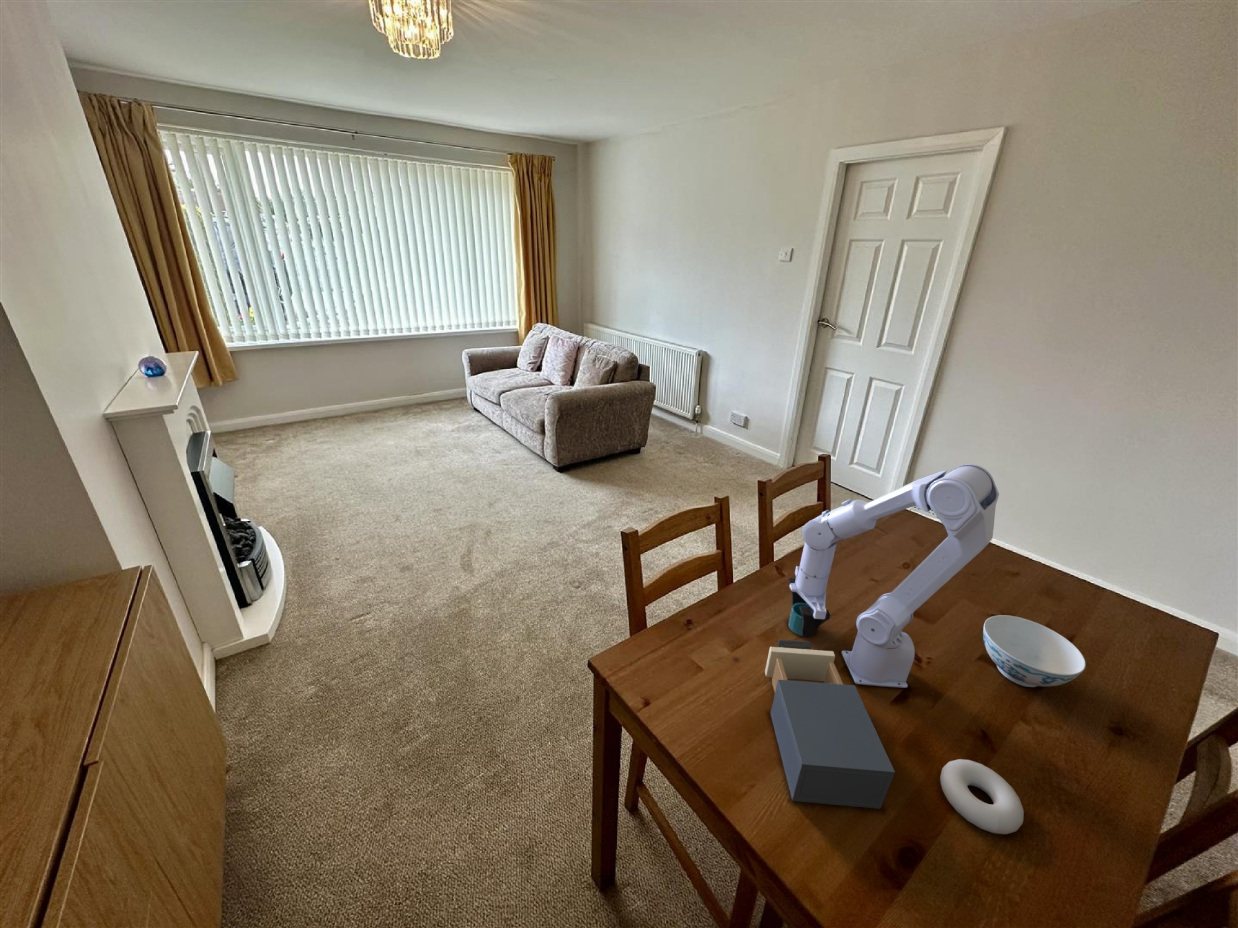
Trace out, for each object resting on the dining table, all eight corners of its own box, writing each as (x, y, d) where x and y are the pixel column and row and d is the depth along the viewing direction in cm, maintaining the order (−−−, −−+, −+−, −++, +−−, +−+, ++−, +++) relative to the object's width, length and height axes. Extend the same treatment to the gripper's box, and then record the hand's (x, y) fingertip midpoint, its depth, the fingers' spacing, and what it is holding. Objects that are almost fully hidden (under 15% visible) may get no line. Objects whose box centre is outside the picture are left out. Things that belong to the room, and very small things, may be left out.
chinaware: (1090, 704, 87) (1109, 673, 84) (1013, 707, 86) (1029, 676, 83) (1021, 643, 100) (1035, 614, 97) (953, 645, 99) (965, 615, 96)
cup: (810, 619, 105) (814, 603, 103) (817, 637, 100) (821, 620, 99) (785, 618, 106) (789, 601, 104) (791, 635, 101) (795, 618, 99)
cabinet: (770, 713, 83) (777, 679, 80) (844, 719, 83) (855, 685, 79) (792, 800, 70) (802, 764, 67) (880, 808, 69) (895, 772, 66)
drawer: (760, 654, 94) (765, 630, 92) (819, 659, 94) (825, 634, 91) (781, 737, 78) (788, 710, 76) (853, 743, 78) (862, 716, 75)
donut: (981, 766, 76) (922, 770, 75) (989, 752, 74) (928, 755, 73) (1037, 837, 66) (970, 842, 66) (1047, 822, 65) (979, 826, 64)
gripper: (785, 548, 104) (775, 598, 109) (804, 591, 91) (792, 646, 96) (818, 550, 103) (807, 600, 109) (842, 593, 90) (828, 648, 96)
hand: (802, 622), depth 102 cm, fingers open, 7 cm apart
